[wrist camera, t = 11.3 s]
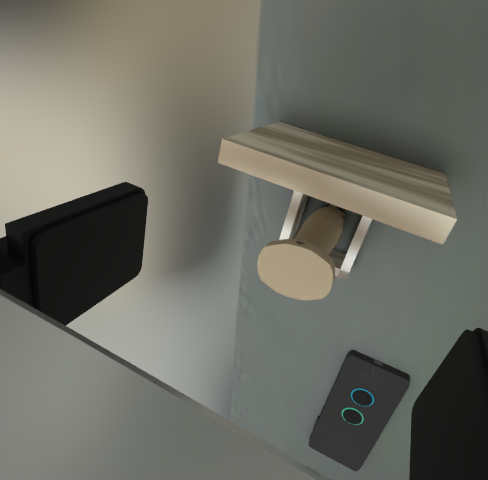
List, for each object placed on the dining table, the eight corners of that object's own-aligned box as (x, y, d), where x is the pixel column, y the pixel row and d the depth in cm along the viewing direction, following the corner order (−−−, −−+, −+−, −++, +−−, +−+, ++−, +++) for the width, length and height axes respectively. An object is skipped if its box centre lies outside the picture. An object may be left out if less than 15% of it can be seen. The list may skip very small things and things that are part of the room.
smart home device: (413, 383, 45) (358, 474, 54) (413, 373, 46) (360, 463, 56) (347, 353, 47) (306, 445, 57) (349, 345, 49) (308, 436, 58)
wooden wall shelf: (279, 121, 41) (222, 138, 29) (445, 174, 36) (457, 219, 24) (252, 224, 47) (197, 272, 36) (391, 280, 42) (379, 357, 31)
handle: (354, 241, 42) (326, 308, 30) (301, 228, 45) (254, 285, 32) (364, 202, 40) (338, 257, 28) (308, 190, 42) (260, 236, 30)
